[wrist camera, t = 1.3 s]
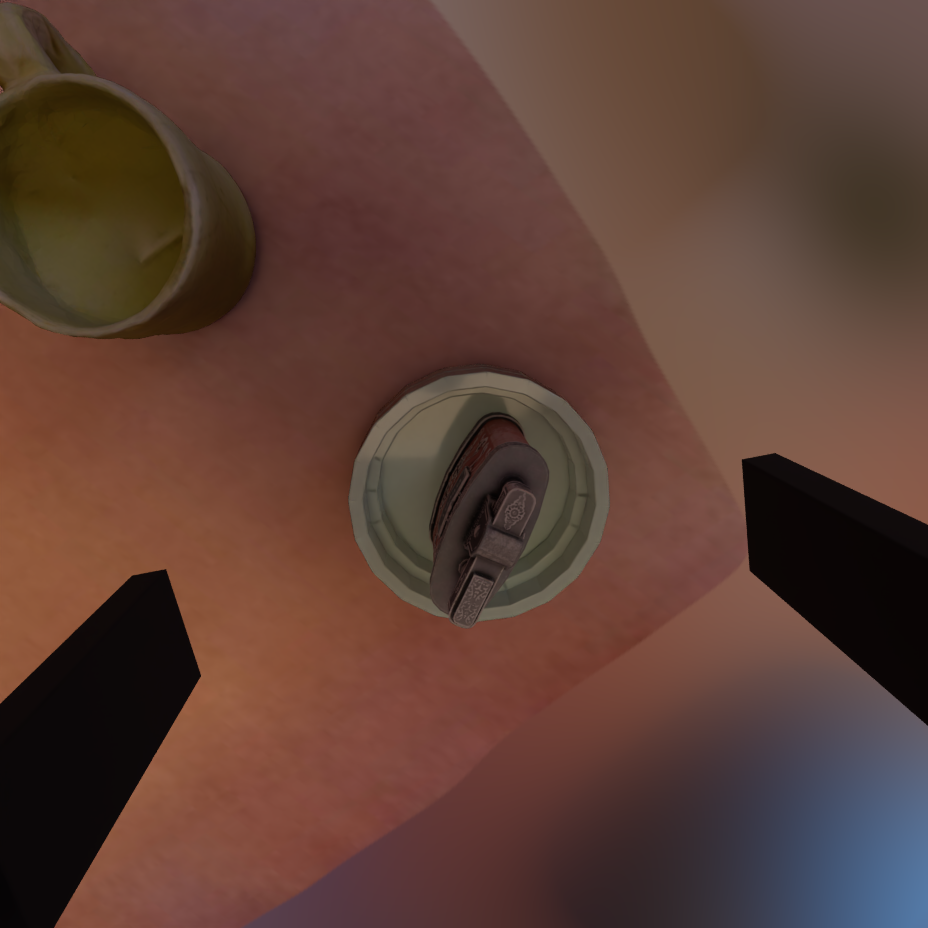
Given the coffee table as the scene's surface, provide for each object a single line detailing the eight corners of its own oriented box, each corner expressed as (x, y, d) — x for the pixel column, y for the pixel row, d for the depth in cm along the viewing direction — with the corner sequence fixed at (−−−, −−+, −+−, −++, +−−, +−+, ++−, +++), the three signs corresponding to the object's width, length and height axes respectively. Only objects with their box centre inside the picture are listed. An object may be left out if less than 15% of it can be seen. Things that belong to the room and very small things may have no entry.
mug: (317, 335, 31) (164, 310, 21) (142, 367, 34) (-61, 358, 24) (278, 66, 30) (99, -86, 20) (101, 123, 33) (-126, 15, 23)
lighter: (478, 400, 33) (499, 446, 24) (537, 427, 34) (582, 482, 24) (415, 537, 35) (411, 631, 25) (472, 560, 36) (489, 661, 26)
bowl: (428, 318, 33) (428, 322, 29) (632, 434, 35) (658, 453, 31) (317, 524, 35) (304, 553, 31) (515, 621, 37) (525, 659, 34)
